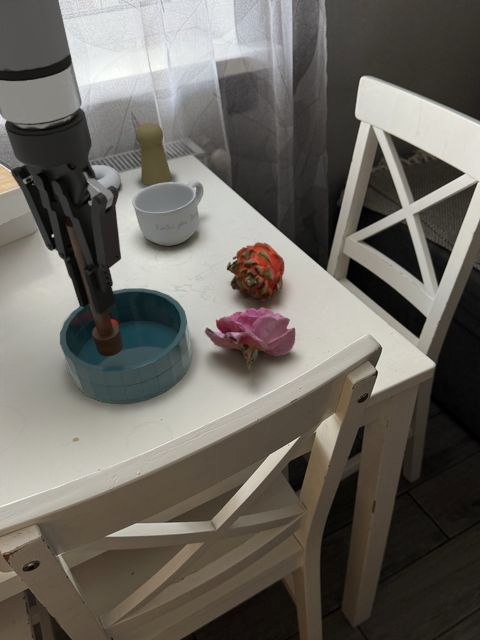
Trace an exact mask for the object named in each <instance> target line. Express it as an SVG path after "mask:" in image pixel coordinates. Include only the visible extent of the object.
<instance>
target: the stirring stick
mask: <svg viewBox="0 0 480 640" xmlns="http://www.w3.org/2000/svg"><path fill="white" fill-rule="evenodd" d="M66 227H67V231H68V234H69V237H70V241H71V244H72V248H73V251H74V254H75V258H76V261H77V264H78V268H79V271H80V275H81V278H82V281H83V285H84V288H85V291H86V295H87V298H88V302H89V305H90V308H91V312H92V315H93V318H94V322H95V325H96V327H95V328H94V329H93V331H92V335H93V338H94V342H95V345H96V348H97V351H98V353H99V354H100V355H102V356H113V355H116V354H118V353H119V352H120V351H121V350H122V348H123V342H122V338H121V334H120V330H119V327H118V325H116V324H115V323H112V322H111V318H110V315H109V311H108V309H107V310H106V311H104V312H103V313H102V314H101V315H100V314H98V313H96V311H95V308H94V304H93V301H92V297H91V294H90V290H89V287H88V284H87V280H86V277H85V273H84V270H83V269H84V268H85V267H86V266H88V265H87V263H86V260H85V257H84V254H83V251H82V249H81V246H80V243H79V240H78V237H77V235H76V232H75V229H74V226H73V224H72V221H71V219H69V220H68V221H67V222H66Z"/></svg>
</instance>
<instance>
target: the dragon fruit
mask: <svg viewBox="0 0 480 640" xmlns="http://www.w3.org/2000/svg"><path fill="white" fill-rule="evenodd" d="M232 260H234V261H233V262H230V261H229V262H228V263H227V265H226V271H229V272H230V273H231V274H234V276H233V277H232V280H231V281H230V284H229V285H230V287H231V289H232V290H233V291H235V290H238V291H240V292H241V295H242V296H243V297H244V299H251V298H253V299H258V300H259V301H260V302H266V301H268V300H269V299H270V298H271V296H272V294H273V292H275V291H276V292H277V291H280V290H282V289H283V284H284V282H283V281H284V280H283V275H284V273H285V261H284V258H283V257H282V256H281V255H280V254H279V253H278V252H277V251H276V250H275V249H274V248H273V247H272V245H270V244H268V243H266V242H260V241H257V242H255V243H254V245H246V247H245V246H243V247H241V248H240V249H239V250H238V251H236V253H235V256H233V257H232Z"/></svg>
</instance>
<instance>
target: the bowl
mask: <svg viewBox="0 0 480 640" xmlns="http://www.w3.org/2000/svg"><path fill="white" fill-rule="evenodd" d="M113 294H114V298H115V303H114V304H113V305H112V306H110V307H109V308H108V311H109V315H110V318H111V319H113V320H116V321H117V322H118V323H119V325H120V334H121V338H122V342H123V348H122V350H121V351H120V352H119V353H118V354H116V355H113V356H102V355H100V354H99V353H98V351H97V348H96V345H95V342H94V338H93V335H92V331H93V329H94V328H95V327H96V325H95V322H94V318H93V315H92V312H91V308H90V305H89V304H88V305H87V306H86V307H81V306H80V305H79V306H78V307H77V308H76V309H74V310H73V311H72V312H71V313H70V314H69V315H68V317H67V318H66V319H65V320H64V321H63V324H62V327H61V329H60V332H59V345H60V348H61V350H62V351H61V352H62V353H63V357H64V359H65V362H66V365H67V367H68V370H69V372H70V375H71V378H72V380H73V382H74V384H75V385H76V387H77V389H79V390H80V391H81V392H82V393H83V394H84V395H86V396H87V397H89V398H92V399H94V400H96V401H100V402H103V403H108V404H120V405H121V404H132V403H133V404H134V403H138V402H142V401H146V400H149V399H152V398H155V397H157V396H159V395H161V394H163V393H165V392H167V391H169V390H170V389H171V388H172V387H173V386H175V385H176V384H177V383H178V382H179V381H180V380H181V379H182V378H183V377H184V376H185V374H186V372H187V371H188V369H189V367H190V365H191V362H192V354H193V353H192V343H191V338H190V331H189V330H190V329H189V324H188V323H189V322H188V319H187V315H186V310H185V309H184V308H183V306H182V305H181V304H180V302H179V301H178V300H176V299H175V298H173V297H172V296H171V295H169V294H167V293H164V292H161V291H159V290H156V289H149V288H143V287H142V288H141V287H138V288H136V287H135V288H129V287H128V288H122V289H121V288H120V289H116V290H113Z"/></svg>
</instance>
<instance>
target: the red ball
mask: <svg viewBox="0 0 480 640" xmlns="http://www.w3.org/2000/svg"><path fill="white" fill-rule="evenodd" d="M111 322H112V323H115V324H116V325H118V327H119V330H120V325H119V323H118V322H117V321H116V320H113V319H111Z"/></svg>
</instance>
